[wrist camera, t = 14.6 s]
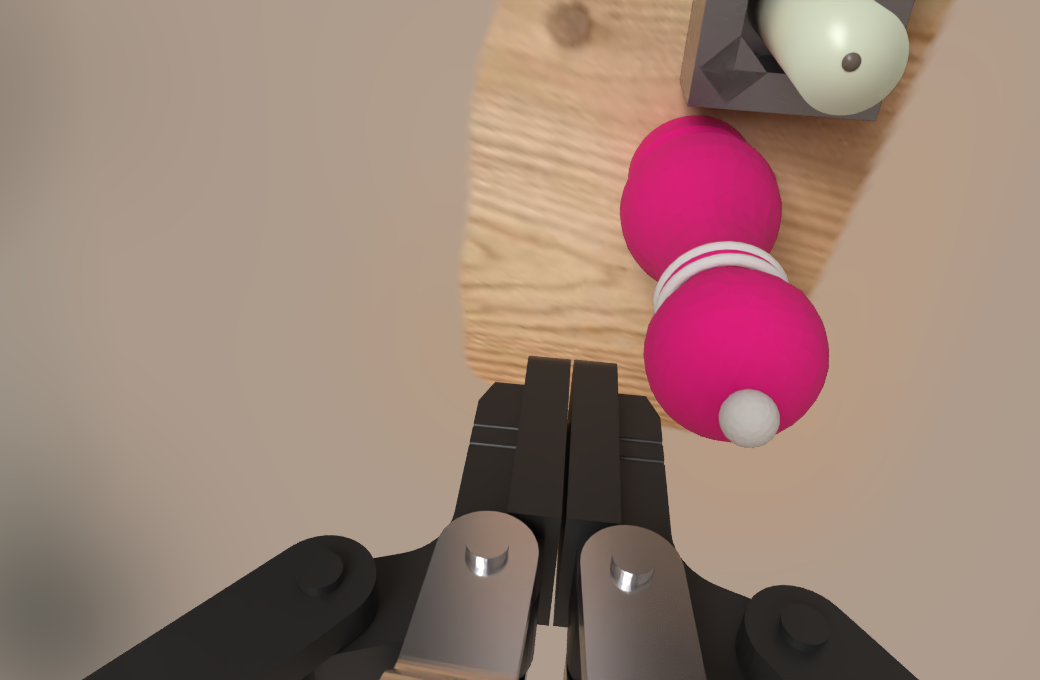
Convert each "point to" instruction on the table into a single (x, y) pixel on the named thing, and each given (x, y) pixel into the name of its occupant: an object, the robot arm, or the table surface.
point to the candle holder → (746, 63)
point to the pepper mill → (719, 286)
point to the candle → (834, 49)
